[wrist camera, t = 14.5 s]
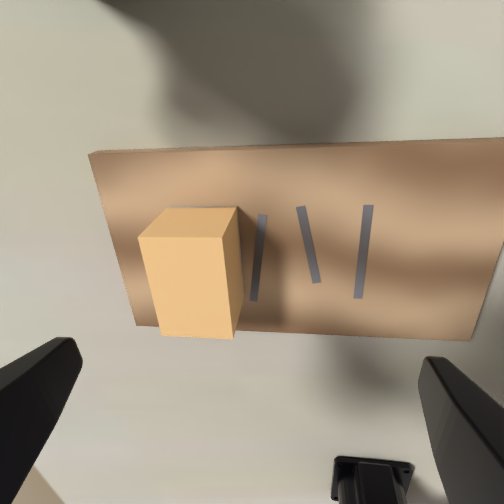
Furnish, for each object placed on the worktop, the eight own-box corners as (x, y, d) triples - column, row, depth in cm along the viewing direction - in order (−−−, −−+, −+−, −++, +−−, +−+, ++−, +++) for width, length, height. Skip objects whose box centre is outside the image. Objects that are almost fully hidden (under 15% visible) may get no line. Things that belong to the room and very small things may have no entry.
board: (463, 330, 21) (470, 341, 21) (142, 316, 25) (136, 325, 24) (524, 136, 16) (537, 140, 15) (97, 150, 19) (87, 154, 18)
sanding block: (244, 294, 21) (233, 339, 18) (184, 293, 22) (161, 335, 18) (237, 205, 18) (221, 237, 15) (167, 206, 19) (137, 236, 15)
